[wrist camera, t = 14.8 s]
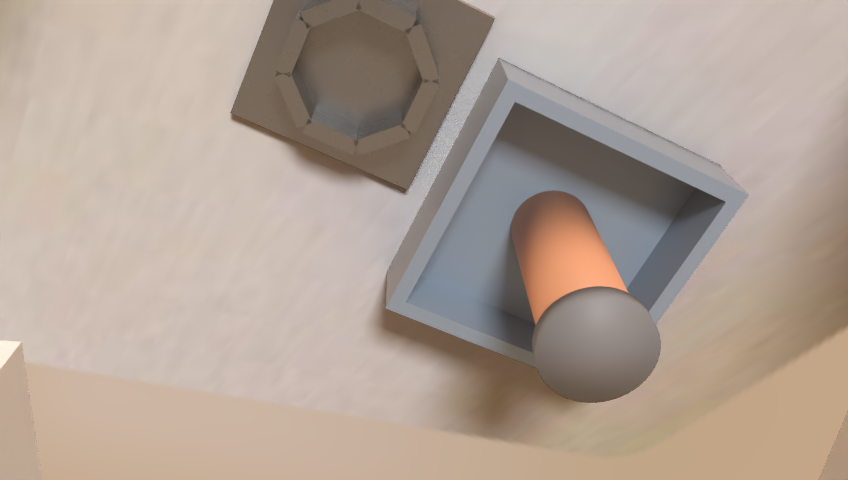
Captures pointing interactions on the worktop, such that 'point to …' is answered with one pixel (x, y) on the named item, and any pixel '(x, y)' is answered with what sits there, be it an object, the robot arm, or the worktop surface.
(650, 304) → the bin
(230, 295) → the worktop surface
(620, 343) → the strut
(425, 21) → the socket base
